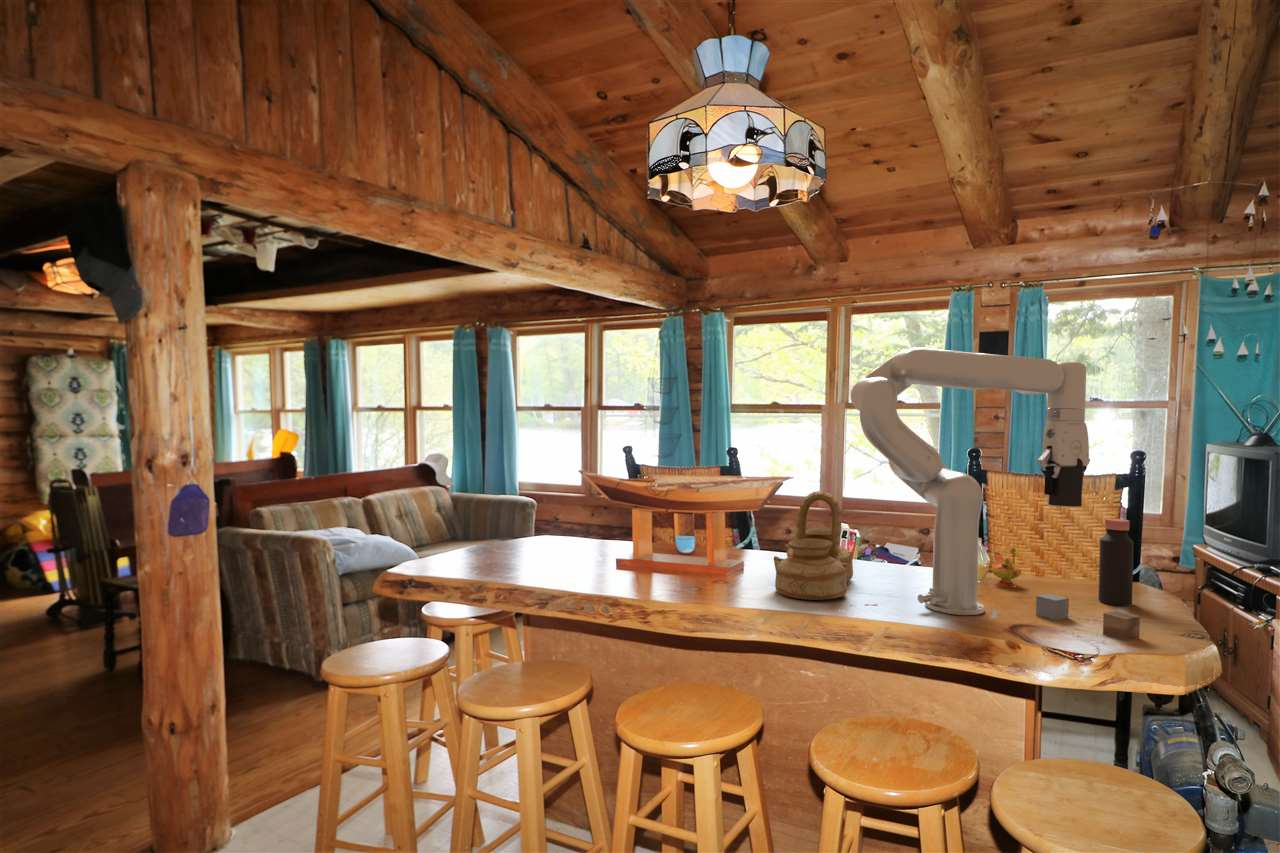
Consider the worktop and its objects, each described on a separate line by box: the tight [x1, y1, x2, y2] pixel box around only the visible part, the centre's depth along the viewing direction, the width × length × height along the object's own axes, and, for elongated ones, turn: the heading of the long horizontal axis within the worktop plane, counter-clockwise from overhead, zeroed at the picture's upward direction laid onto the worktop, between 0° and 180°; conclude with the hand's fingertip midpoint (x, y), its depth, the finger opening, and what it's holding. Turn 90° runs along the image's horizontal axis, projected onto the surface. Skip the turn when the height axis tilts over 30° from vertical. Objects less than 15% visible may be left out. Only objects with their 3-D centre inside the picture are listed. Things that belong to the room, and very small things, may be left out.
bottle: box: [1098, 517, 1135, 607], centre depth 172 cm, size 7×7×20 cm
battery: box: [1047, 458, 1084, 508], centre depth 164 cm, size 7×4×11 cm, turn 70°
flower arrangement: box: [991, 547, 1021, 588], centre depth 191 cm, size 7×18×11 cm, turn 167°
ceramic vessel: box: [773, 490, 854, 601], centre depth 186 cm, size 34×18×25 cm, turn 160°
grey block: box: [1035, 593, 1070, 621], centre depth 161 cm, size 4×4×4 cm
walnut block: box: [1102, 610, 1141, 642], centre depth 147 cm, size 4×4×4 cm
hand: (1063, 493), depth 165 cm, fingers closed on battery, 6 cm apart
